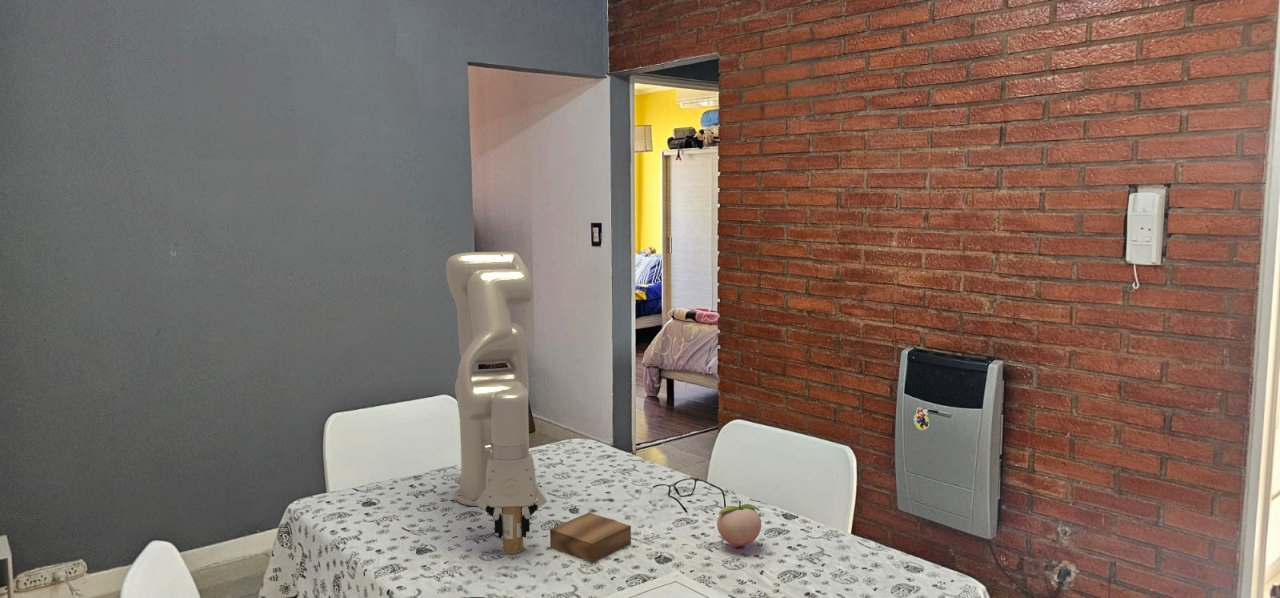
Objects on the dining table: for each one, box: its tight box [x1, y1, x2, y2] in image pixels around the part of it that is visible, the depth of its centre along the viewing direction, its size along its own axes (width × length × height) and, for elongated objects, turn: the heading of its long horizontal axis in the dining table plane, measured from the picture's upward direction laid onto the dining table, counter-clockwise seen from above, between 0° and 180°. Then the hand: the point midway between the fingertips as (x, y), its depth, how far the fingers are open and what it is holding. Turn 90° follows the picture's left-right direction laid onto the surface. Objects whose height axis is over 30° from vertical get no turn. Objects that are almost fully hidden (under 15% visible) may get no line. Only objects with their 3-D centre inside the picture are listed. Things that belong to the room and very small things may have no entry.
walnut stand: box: [549, 512, 632, 564], centre depth 178 cm, size 12×12×4 cm
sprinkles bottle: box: [500, 507, 524, 555], centre depth 175 cm, size 5×5×13 cm
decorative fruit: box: [716, 501, 762, 548], centre depth 176 cm, size 9×8×10 cm
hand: (512, 534), depth 176 cm, fingers closed on sprinkles bottle, 4 cm apart
